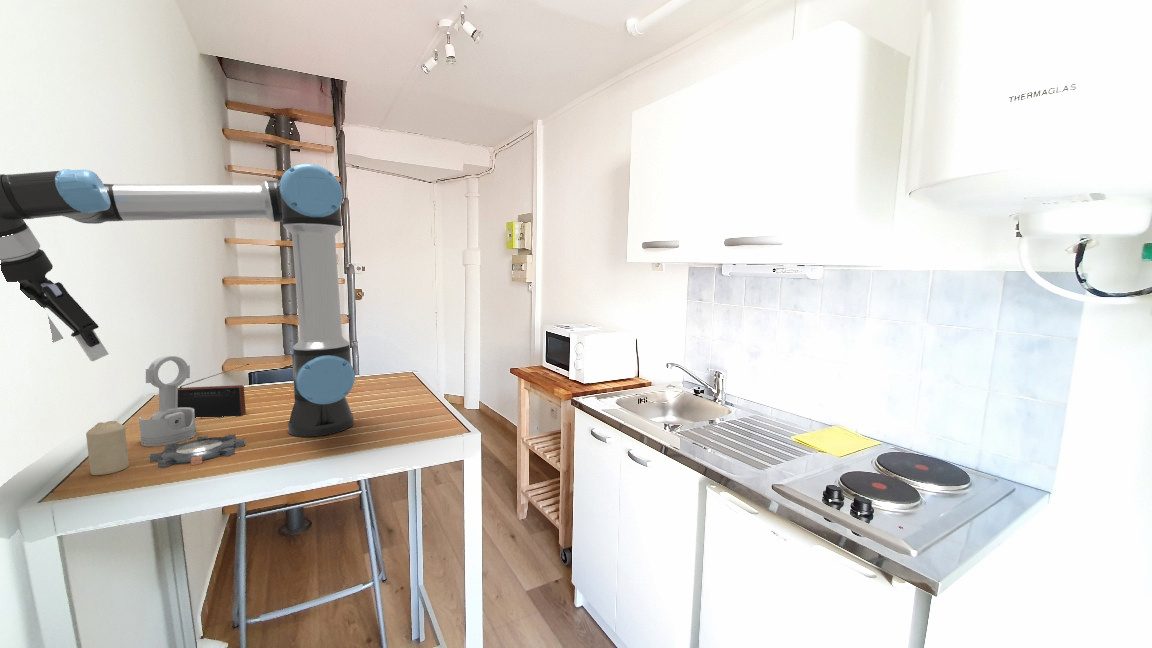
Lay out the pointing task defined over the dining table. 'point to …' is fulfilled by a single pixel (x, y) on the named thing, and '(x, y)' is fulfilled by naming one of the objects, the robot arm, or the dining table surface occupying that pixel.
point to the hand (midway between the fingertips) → (76, 349)
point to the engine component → (168, 408)
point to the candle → (107, 448)
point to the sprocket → (197, 450)
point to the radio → (213, 400)
